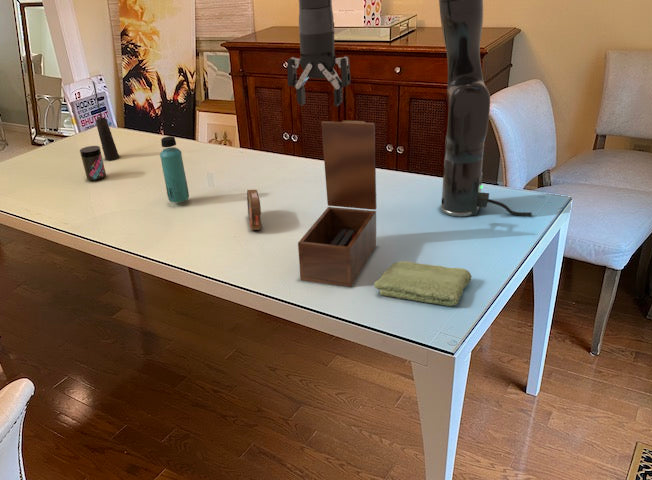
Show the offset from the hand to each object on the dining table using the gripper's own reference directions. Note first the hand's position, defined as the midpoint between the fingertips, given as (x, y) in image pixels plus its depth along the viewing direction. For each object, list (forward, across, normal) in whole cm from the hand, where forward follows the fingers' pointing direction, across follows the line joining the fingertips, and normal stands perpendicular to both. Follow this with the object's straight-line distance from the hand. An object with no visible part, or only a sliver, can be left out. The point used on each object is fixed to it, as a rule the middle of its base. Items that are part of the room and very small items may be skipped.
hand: (319, 104), depth 144 cm
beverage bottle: (+32, -49, +8) cm, 59 cm away
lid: (+12, +9, -7) cm, 17 cm away
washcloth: (+32, +30, -22) cm, 49 cm away
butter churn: (+32, -99, +41) cm, 112 cm away
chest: (+32, +9, -16) cm, 37 cm away
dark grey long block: (+31, +9, -16) cm, 36 cm away
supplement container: (+32, -90, +21) cm, 98 cm away
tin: (+32, -20, 0) cm, 38 cm away
